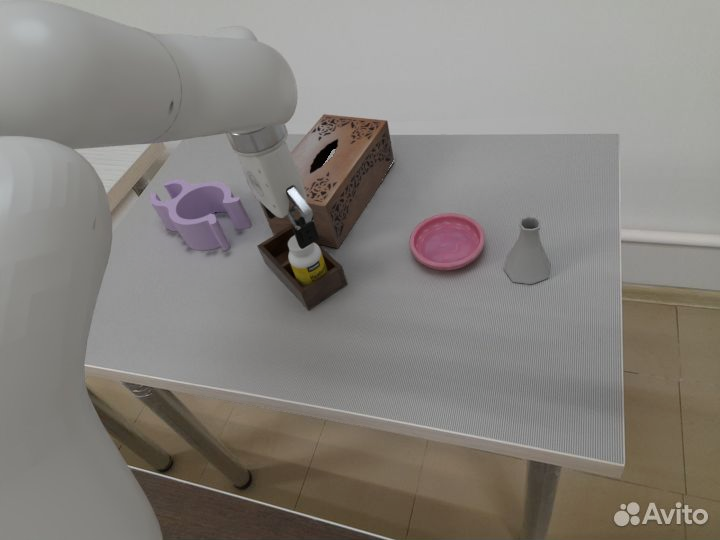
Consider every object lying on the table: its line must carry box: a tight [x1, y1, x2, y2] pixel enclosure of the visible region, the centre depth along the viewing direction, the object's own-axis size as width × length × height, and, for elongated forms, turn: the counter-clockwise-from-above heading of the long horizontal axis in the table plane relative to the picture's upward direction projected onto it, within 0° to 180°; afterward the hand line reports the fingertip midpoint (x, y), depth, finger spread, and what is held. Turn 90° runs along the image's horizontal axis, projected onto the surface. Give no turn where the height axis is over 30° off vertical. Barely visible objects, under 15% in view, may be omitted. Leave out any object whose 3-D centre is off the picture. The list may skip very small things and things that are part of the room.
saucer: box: [409, 212, 486, 271], centre depth 88 cm, size 12×12×3 cm
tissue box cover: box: [258, 113, 395, 249], centre depth 101 cm, size 26×14×10 cm, turn 154°
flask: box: [503, 215, 551, 285], centre depth 80 cm, size 7×7×10 cm
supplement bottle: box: [288, 235, 328, 288], centre depth 86 cm, size 5×5×10 cm
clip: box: [148, 178, 252, 252], centre depth 104 cm, size 20×12×7 cm, turn 58°
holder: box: [256, 224, 348, 312], centre depth 91 cm, size 8×15×5 cm, turn 36°
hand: (293, 228), depth 80 cm, fingers open, 9 cm apart
